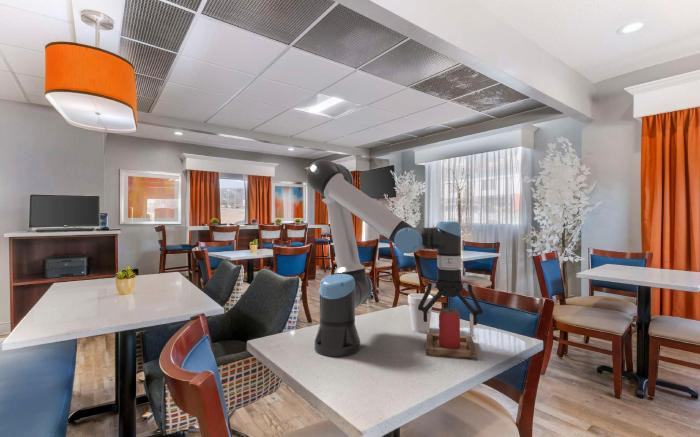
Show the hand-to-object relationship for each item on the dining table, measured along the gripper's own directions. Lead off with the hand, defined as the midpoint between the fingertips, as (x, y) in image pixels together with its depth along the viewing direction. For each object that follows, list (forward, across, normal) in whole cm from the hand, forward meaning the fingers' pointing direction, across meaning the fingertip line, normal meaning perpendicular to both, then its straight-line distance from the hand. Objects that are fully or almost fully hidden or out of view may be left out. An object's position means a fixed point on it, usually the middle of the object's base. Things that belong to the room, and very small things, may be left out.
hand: (449, 333), depth 107 cm
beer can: (+4, 0, 0) cm, 5 cm away
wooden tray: (+5, 0, 0) cm, 5 cm away
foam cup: (+5, -10, +17) cm, 20 cm away
